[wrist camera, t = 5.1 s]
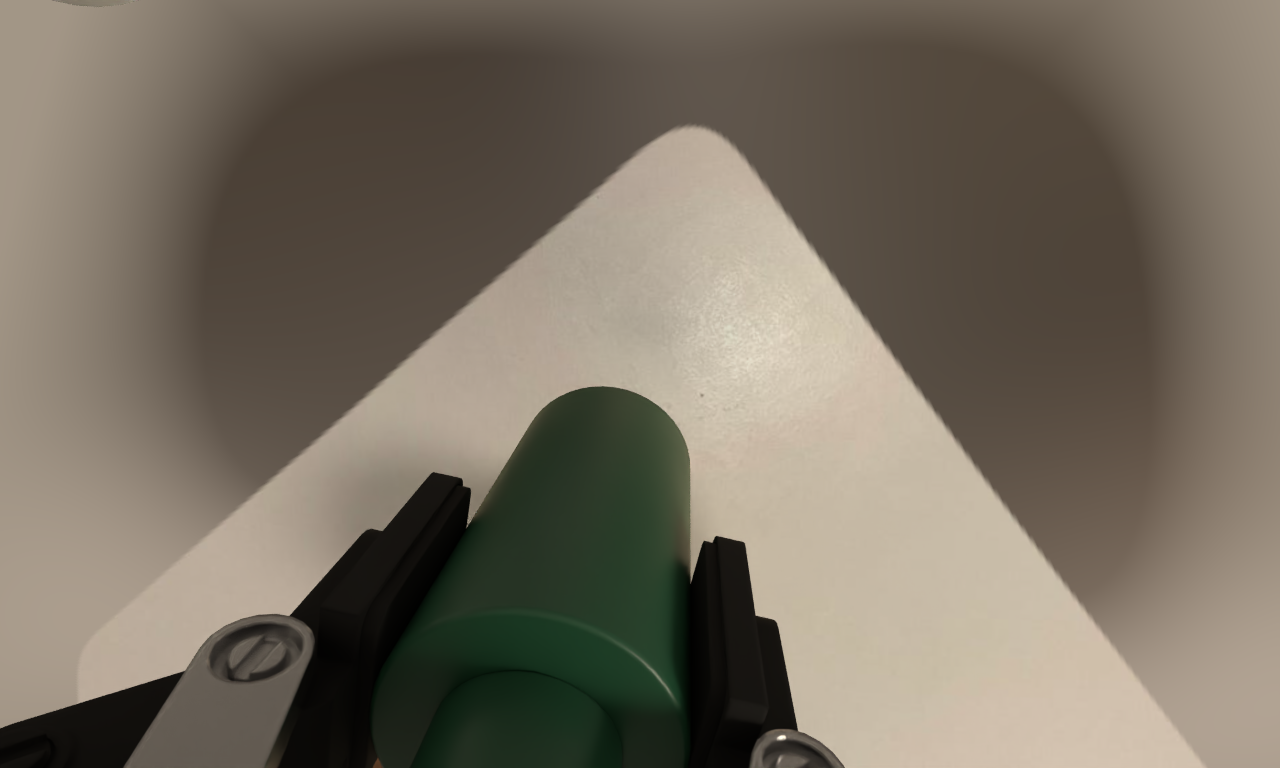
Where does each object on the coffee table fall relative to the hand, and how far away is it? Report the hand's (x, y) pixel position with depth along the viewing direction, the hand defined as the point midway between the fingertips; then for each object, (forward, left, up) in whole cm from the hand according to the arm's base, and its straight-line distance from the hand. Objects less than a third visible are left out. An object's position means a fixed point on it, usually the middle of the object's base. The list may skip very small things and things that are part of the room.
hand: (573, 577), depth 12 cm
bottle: (0, 0, -5) cm, 5 cm away
